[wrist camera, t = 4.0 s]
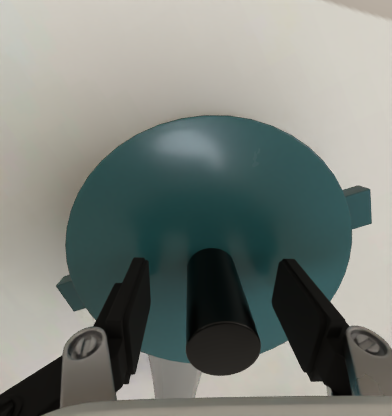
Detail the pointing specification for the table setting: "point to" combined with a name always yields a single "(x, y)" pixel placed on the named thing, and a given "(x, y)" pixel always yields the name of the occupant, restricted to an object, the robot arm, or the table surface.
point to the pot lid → (208, 234)
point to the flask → (173, 378)
